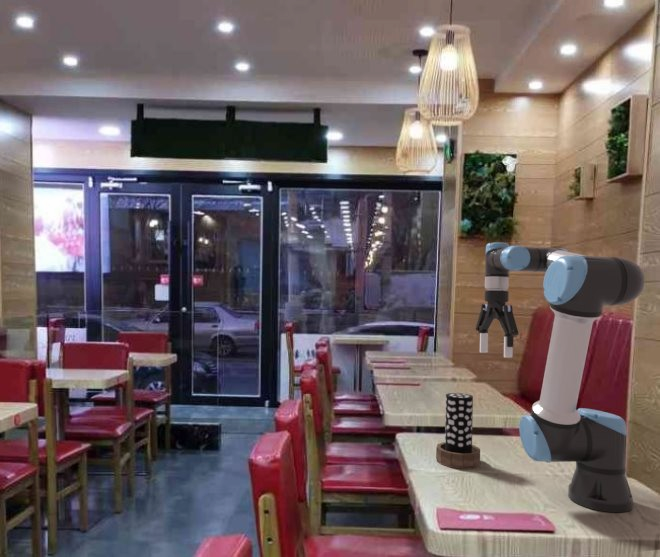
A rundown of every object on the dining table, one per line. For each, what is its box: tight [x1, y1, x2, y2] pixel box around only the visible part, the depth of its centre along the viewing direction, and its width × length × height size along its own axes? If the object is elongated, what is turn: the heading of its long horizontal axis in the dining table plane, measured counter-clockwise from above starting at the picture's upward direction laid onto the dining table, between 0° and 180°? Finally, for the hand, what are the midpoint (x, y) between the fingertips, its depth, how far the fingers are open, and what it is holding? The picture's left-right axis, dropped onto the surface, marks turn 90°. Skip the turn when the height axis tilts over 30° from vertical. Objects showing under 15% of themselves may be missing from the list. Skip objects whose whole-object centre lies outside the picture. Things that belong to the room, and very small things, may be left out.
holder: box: [435, 442, 481, 470], centre depth 170 cm, size 13×13×4 cm
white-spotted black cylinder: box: [444, 392, 474, 453], centre depth 170 cm, size 8×8×20 cm
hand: (495, 355), depth 176 cm, fingers open, 13 cm apart
